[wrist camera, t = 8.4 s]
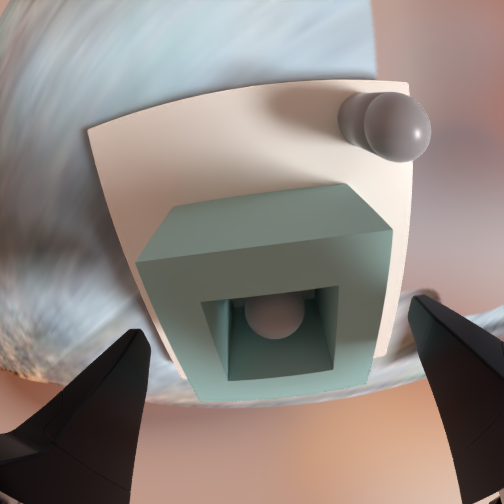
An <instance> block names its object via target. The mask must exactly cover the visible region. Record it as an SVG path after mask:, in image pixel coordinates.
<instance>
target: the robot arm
mask: <svg viewBox="0 0 504 504" xmlns="http://www.w3.org/2000/svg"><path fill="white" fill-rule="evenodd" d="M408 322H409V325H410V328H411V331H412V335H413V338H414V341H415V345H416V348H417V351H418V355H419V358H420V361H421V363H422V366H423V368H424V371H425V374H426V376H427V379H428V381H429V384H430V387H431V390H432V392H433V395H434V398H435V401H436V404H437V407H438V410H439V413H440V416H441V419H442V422H443V425H444V429H445V432H446V435H447V439H448V442H449V446H450V450H451V453H452V457H453V461H454V466H455V470H456V474H457V479H458V484H459V488H460V493H461V499H462V504H473V503H476V502H478V501H480V500H482V499H484V498H486V497H488V496H490V495H492V494H494V493H496V492H498V491H499V494H500V496H499V497H497V498H496V499H494V500H492V501H491V502H490V503H489V504H504V342H503V341H500V339H498V338H497V337H495V336H494V335H492V334H491V333H489V332H487V331H486V330H484V329H483V328H481V327H479V326H478V325H476V324H474V323H473V322H471V321H469V320H468V319H466V318H465V317H463V316H461V315H459V314H458V313H456V312H455V311H453V310H451V309H449V308H448V307H446V306H444V305H443V304H441V303H439V302H437V301H436V300H434V299H432V298H431V297H429V296H427V295H425V294H419V295H415V296H413V297H412V299H411V303H410V308H409V312H408ZM150 356H151V347H150V344H149V342H148V340H147V338H146V337H145V335H144V333H143V331H142V330H141V329H129V330H128V331H127V332H126V333H125V334H123V335H122V336H121V337H120V338H119V339H118V340H117V341H116V342H114V343H113V344H112V345H111V346H110V347H109V348H108V349H107V350H106V351H104V352H103V353H102V354H101V355H100V356H99V357H98V358H97V359H96V360H94V361H93V362H92V363H91V364H90V365H89V366H88V367H87V368H86V369H85V370H83V371H82V372H81V373H80V374H79V375H78V376H77V377H76V378H75V379H74V380H72V381H71V382H70V383H69V384H68V385H67V386H66V387H65V388H64V389H63V390H62V391H60V392H59V393H58V394H57V395H56V396H55V397H54V398H53V399H52V400H51V401H50V402H48V403H47V404H46V405H45V406H44V407H42V408H41V409H40V410H39V411H38V412H36V413H35V414H34V415H33V416H31V417H30V418H29V419H27V420H26V421H25V422H24V423H22V424H21V425H20V426H19V427H17V428H16V429H14V430H13V431H11V432H8V433H4V434H0V504H129V503H130V491H131V484H132V476H133V468H134V461H135V455H136V448H137V442H138V435H139V430H140V424H141V419H142V413H143V408H144V403H145V398H146V392H147V386H148V376H149V366H150Z"/></svg>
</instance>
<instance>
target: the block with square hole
mask: <svg viewBox="0 0 504 504" xmlns="http://www.w3.org/2000/svg"><path fill="white" fill-rule="evenodd" d="M392 239H393V229H392V228H391V227H390V226H389V225H388V224H387V223H386V222H385V221H384V219H383V218H382V217H381V216H380V215H379V214H378V213H377V212H376V211H375V210H374V209H373V208H372V207H371V206H370V205H369V204H368V203H366V202H365V201H364V200H363V199H362V198H361V197H360V196H359V195H358V194H357V193H356V192H355V191H354V190H353V189H352V188H351V187H350V186H349V185H348V184H336V185H325V186H315V187H306V188H297V189H288V190H280V191H272V192H264V193H256V194H249V195H242V196H235V197H228V198H222V199H215V200H209V201H203V202H197V203H191V204H185V205H179V206H174V207H173V208H172V209H171V210H170V212H169V213H168V215H167V216H166V217H165V219H164V220H163V222H162V223H161V224H160V226H159V227H158V229H157V230H156V232H155V233H154V234H153V236H152V237H151V239H150V240H149V242H148V243H147V245H146V246H145V248H144V249H143V251H142V252H141V254H140V255H139V257H138V258H137V260H136V261H135V264H136V267H137V270H138V272H139V275H140V277H141V280H142V282H143V285H144V287H145V290H146V292H147V294H148V297H149V299H150V302H151V304H152V306H153V309H154V311H155V313H156V315H157V318H158V320H159V322H160V324H161V326H162V329H163V331H164V333H165V335H166V337H167V339H168V341H169V343H170V345H171V348H172V350H173V352H174V354H175V356H176V358H177V360H178V362H179V364H180V366H181V367H182V369H183V371H184V373H185V375H186V377H187V379H188V381H189V383H190V384H191V386H192V388H193V390H194V392H195V394H196V395H197V397H198V399H199V401H200V402H226V401H247V400H262V399H273V398H283V397H292V396H300V395H308V394H315V393H321V392H328V391H333V390H339V389H344V388H350V387H355V386H359V385H364V384H366V383H367V380H368V376H369V372H370V368H371V364H372V360H373V356H374V352H375V347H376V343H377V338H378V334H379V329H380V324H381V318H382V313H383V307H384V301H385V295H386V289H387V282H388V275H389V267H390V258H391V249H392ZM310 289H315V298H312V299H305V300H304V305H305V314H304V318H303V321H302V323H301V324H300V326H299V328H298V329H297V330H296V331H295V332H294V333H292V334H291V335H289V336H287V337H285V338H282V339H267V338H264V337H262V336H260V335H258V334H257V333H255V332H254V331H253V330H252V329H251V327H250V326H249V324H248V322H247V320H246V317H245V307H237V308H234V306H233V302H232V299H234V298H244V297H253V296H262V295H270V294H279V293H287V292H294V291H302V290H310Z"/></svg>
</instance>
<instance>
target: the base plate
mask: <svg viewBox="0 0 504 504" xmlns="http://www.w3.org/2000/svg"><path fill="white" fill-rule="evenodd" d="M87 131H88V135H89V140H90V144H91V148H92V152H93V156H94V160H95V164H96V168H97V172H98V175H99V179H100V182H101V186H102V189H103V193H104V196H105V199H106V202H107V206H108V209H109V212H110V215H111V218H112V221H113V224H114V227H115V230H116V233H117V235H118V238H119V241H120V244H121V247H122V249H123V252H124V255H125V257H126V260H127V262H128V265H129V267H130V270H131V272H132V275H133V277H134V280H135V282H136V285H137V287H138V289H139V292H140V294H141V296H142V299H143V301H144V303H145V305H146V308H147V310H148V312H149V314H150V316H151V319H152V321H153V323H154V325H155V327H156V329H157V331H158V333H159V335H160V337H161V339H162V341H163V343H164V345H165V347H166V349H167V351H168V353H169V355H170V357H171V359H172V361H173V363H174V365H175V366H176V368H177V370H178V372H179V374H180V376H181V377H182V379H187V377H186V375H185V373H184V371H183V369H182V367H181V366H180V364H179V362H178V360H177V358H176V356H175V354H174V352H173V350H172V348H171V345H170V343H169V341H168V339H167V337H166V335H165V333H164V331H163V329H162V326H161V324H160V322H159V320H158V318H157V315H156V313H155V311H154V309H153V306H152V304H151V302H150V299H149V297H148V294H147V292H146V290H145V287H144V285H143V282H142V280H141V277H140V275H139V272H138V270H137V267H136V264H135V261H136V260H137V258H138V257H139V255H140V254H141V252H142V251H143V249H144V248H145V246H146V245H147V243H148V242H149V240H150V239H151V237H152V236H153V234H154V233H155V232H156V230H157V229H158V227H159V226H160V224H161V223H162V222H163V220H164V219H165V217H166V216H167V215H168V213H169V212H170V210H171V209H172V208H173V207H174V206H179V205H185V204H191V203H197V202H203V201H209V200H215V199H222V198H228V197H235V196H242V195H249V194H256V193H264V192H272V191H280V190H288V189H297V188H306V187H315V186H325V185H336V184H348V185H349V186H350V187H351V188H352V189H353V190H354V191H355V192H356V193H357V194H358V195H359V196H360V197H361V198H362V199H363V200H364V201H365V202H366V203H368V204H369V205H370V206H371V207H372V208H373V209H374V210H375V211H376V212H377V213H378V214H379V215H380V216H381V217H382V218H383V219H384V221H385V222H386V223H387V224H388V225H389V226H390V227H391V228H392V229H393V239H392V249H391V258H390V267H389V275H388V282H387V289H386V295H385V301H384V307H383V313H382V318H381V324H380V329H379V334H378V338H377V343H376V347H375V352H374V356H373V358H376V357H380V356H385V355H386V352H387V348H388V344H389V340H390V336H391V332H392V328H393V324H394V320H395V315H396V310H397V305H398V300H399V295H400V290H401V284H402V278H403V272H404V265H405V259H406V251H407V243H408V233H409V224H410V211H411V197H412V167H413V166H412V165H413V162H412V161H413V160H415V159H416V158H417V157H419V156H420V155H421V154H422V153H423V152H424V151H425V150H426V148H427V147H428V144H429V142H430V137H431V125H430V121H429V118H428V116H427V114H426V112H425V110H424V109H423V107H422V106H421V105H420V104H419V103H418V102H417V101H416V100H414V99H412V98H411V97H410V94H409V84H408V83H406V82H394V81H379V80H312V81H296V82H284V83H274V84H265V85H257V86H250V87H243V88H236V89H230V90H224V91H219V92H214V93H209V94H204V95H199V96H195V97H190V98H186V99H182V100H178V101H174V102H170V103H166V104H162V105H159V106H155V107H152V108H148V109H145V110H141V111H138V112H135V113H132V114H129V115H126V116H123V117H120V118H117V119H114V120H111V121H109V122H106V123H103V124H101V125H98V126H95V127H93V128H90V129H88V130H87ZM312 298H315V289H310V290H302V291H294V292H287V293H279V294H270V295H262V296H253V297H244V298H234V299H232V302H233V306H234V308H237V307H245V317H246V320H247V322H248V324H249V326H250V327H251V329H252V330H253V331H254V332H255V333H257V334H258V335H260V336H262V337H264V338H267V339H282V338H285V337H287V336H289V335H291V334H292V333H294V332H295V331H296V330H297V329H298V328H299V326H300V324H301V323H302V321H303V318H304V314H305V305H304V300H305V299H312Z"/></svg>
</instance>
